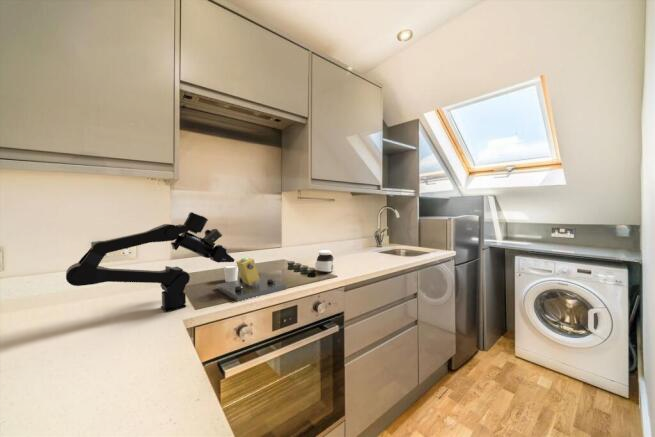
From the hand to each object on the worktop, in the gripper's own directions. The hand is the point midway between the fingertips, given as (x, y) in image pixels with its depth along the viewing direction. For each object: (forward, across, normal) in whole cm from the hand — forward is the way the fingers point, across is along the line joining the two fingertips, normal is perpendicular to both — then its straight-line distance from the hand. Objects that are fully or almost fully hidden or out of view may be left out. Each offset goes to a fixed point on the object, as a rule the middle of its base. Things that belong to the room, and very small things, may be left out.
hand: (229, 259), depth 106 cm
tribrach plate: (+15, -1, +8) cm, 17 cm away
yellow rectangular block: (+14, -1, +5) cm, 14 cm away
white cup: (+15, +19, +8) cm, 26 cm away
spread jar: (+53, -2, -14) cm, 55 cm away
